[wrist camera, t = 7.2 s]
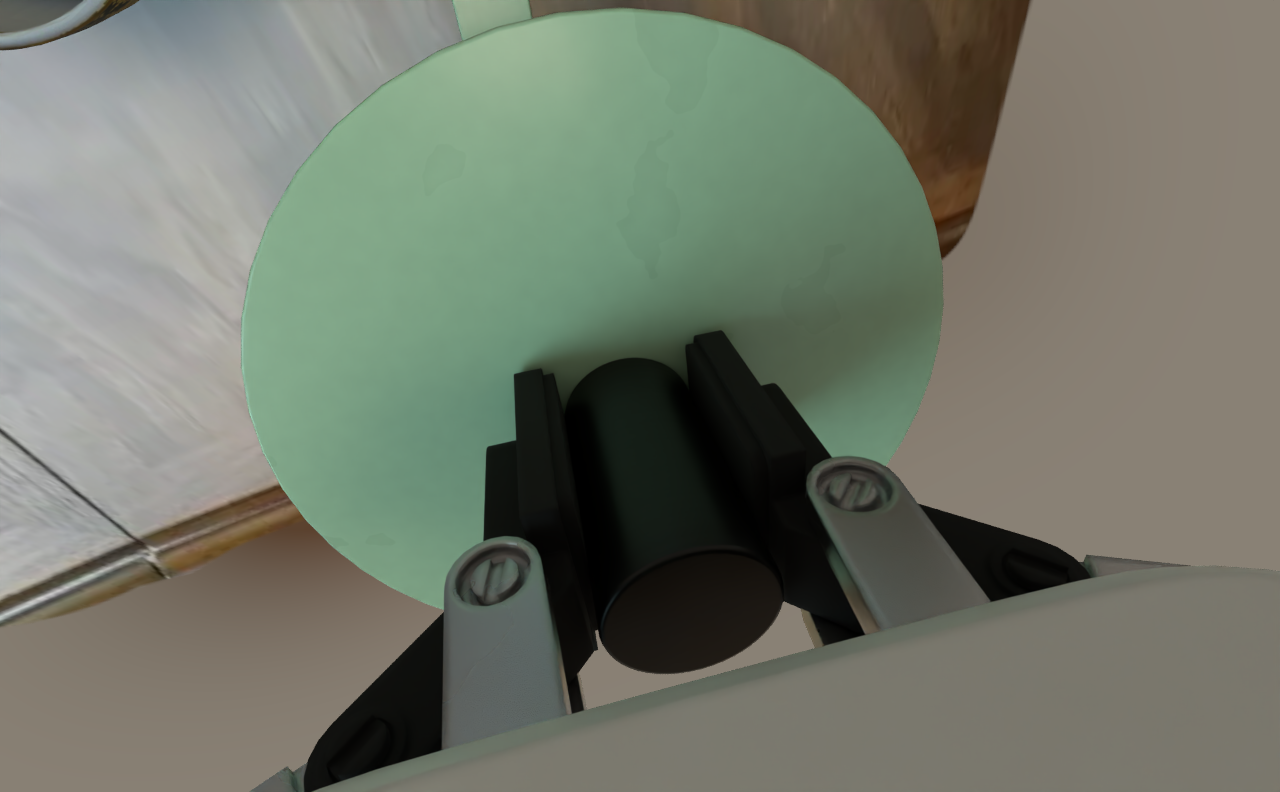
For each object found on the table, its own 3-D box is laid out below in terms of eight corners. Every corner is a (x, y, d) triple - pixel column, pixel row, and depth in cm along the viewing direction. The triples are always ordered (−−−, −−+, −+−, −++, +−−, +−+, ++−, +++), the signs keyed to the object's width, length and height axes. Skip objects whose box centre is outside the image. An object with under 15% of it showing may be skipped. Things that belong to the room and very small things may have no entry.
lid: (966, -52, 10) (1464, -123, 5) (880, 528, 17) (1034, 735, 12) (78, 86, 8) (-537, 193, 3) (410, 645, 16) (370, 929, 11)
